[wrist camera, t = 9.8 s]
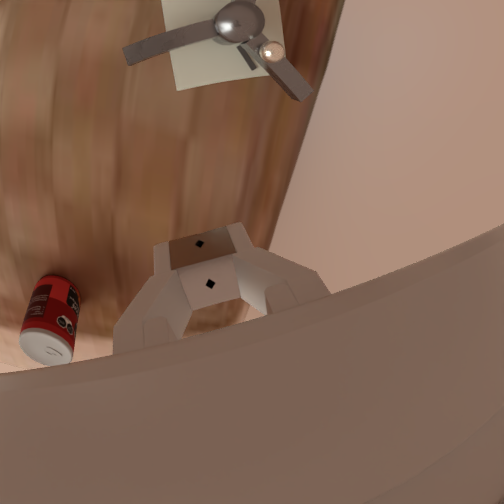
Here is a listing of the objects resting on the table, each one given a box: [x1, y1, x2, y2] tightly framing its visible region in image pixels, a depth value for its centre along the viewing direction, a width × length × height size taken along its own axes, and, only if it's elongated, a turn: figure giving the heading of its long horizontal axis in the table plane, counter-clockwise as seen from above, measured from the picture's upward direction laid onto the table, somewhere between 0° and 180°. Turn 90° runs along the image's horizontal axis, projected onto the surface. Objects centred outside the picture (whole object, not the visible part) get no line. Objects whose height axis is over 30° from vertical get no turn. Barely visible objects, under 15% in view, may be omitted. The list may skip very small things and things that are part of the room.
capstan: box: [122, 0, 314, 102], centre depth 22 cm, size 16×18×7 cm
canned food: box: [19, 275, 81, 366], centre depth 34 cm, size 8×8×11 cm
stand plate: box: [161, 0, 286, 91], centre depth 24 cm, size 12×12×2 cm
